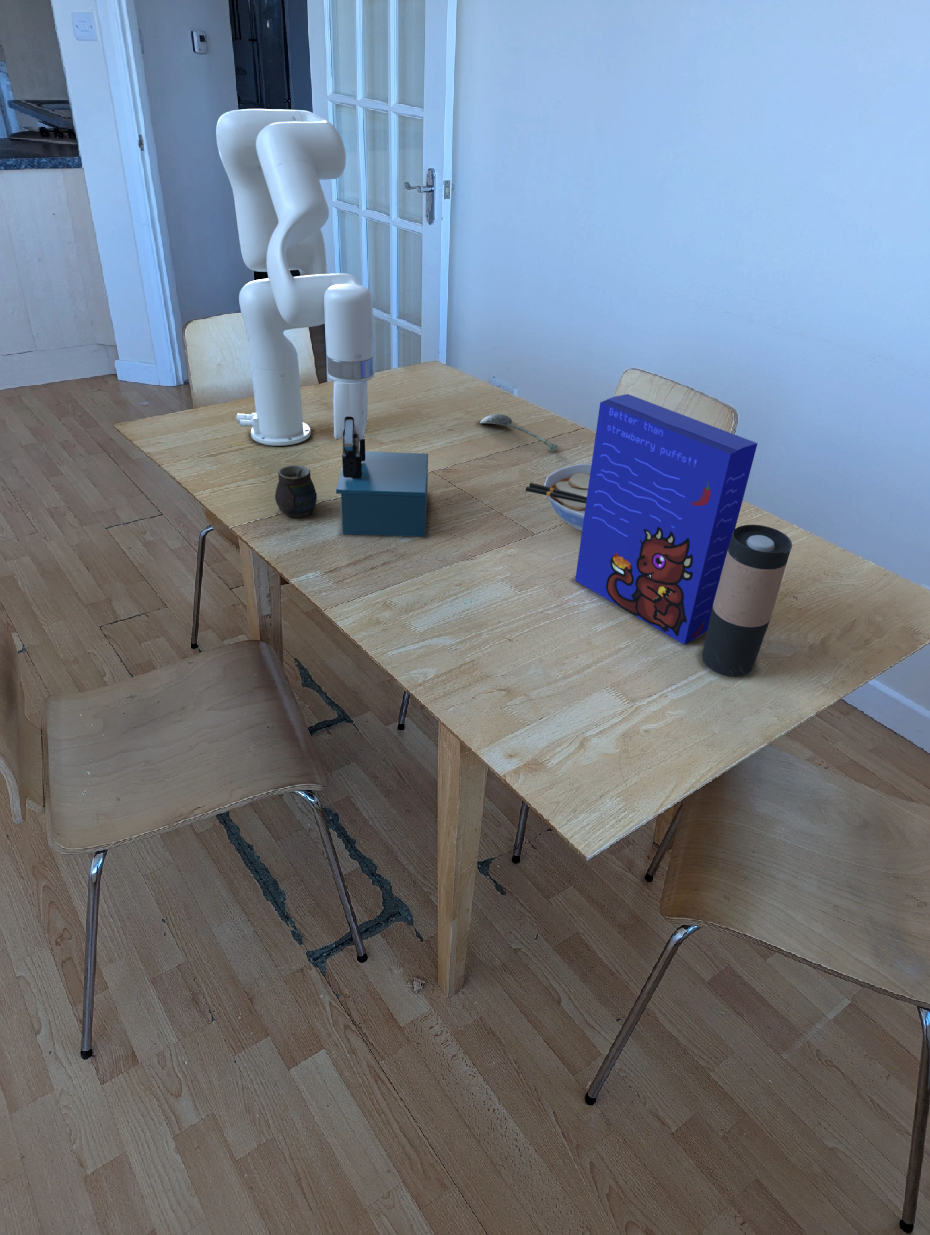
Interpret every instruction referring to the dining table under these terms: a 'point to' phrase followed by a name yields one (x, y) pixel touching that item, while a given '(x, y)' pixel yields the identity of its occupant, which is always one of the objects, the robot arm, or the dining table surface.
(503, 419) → the soupspoon
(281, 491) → the mate gourd
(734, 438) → the cereal box
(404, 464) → the lid
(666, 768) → the dining table surface
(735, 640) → the travel mug
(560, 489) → the ramen bowl
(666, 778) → the dining table surface
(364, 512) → the blue open rectangular box
